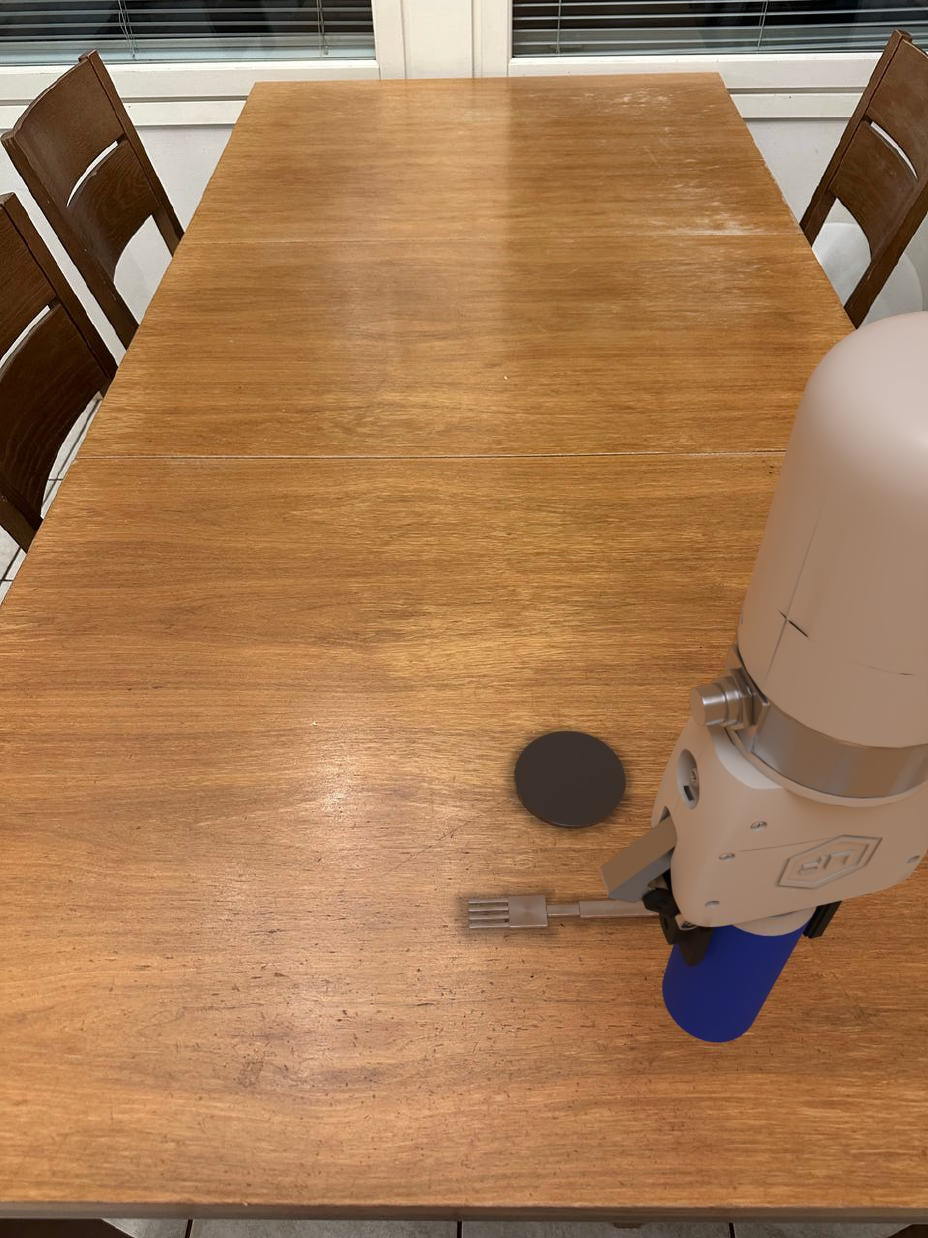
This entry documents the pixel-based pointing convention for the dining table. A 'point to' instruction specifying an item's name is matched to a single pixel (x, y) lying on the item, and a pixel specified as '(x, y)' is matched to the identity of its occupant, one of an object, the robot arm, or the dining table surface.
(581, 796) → the coaster
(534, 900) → the fork
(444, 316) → the dining table surface
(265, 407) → the dining table surface
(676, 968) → the beverage can
